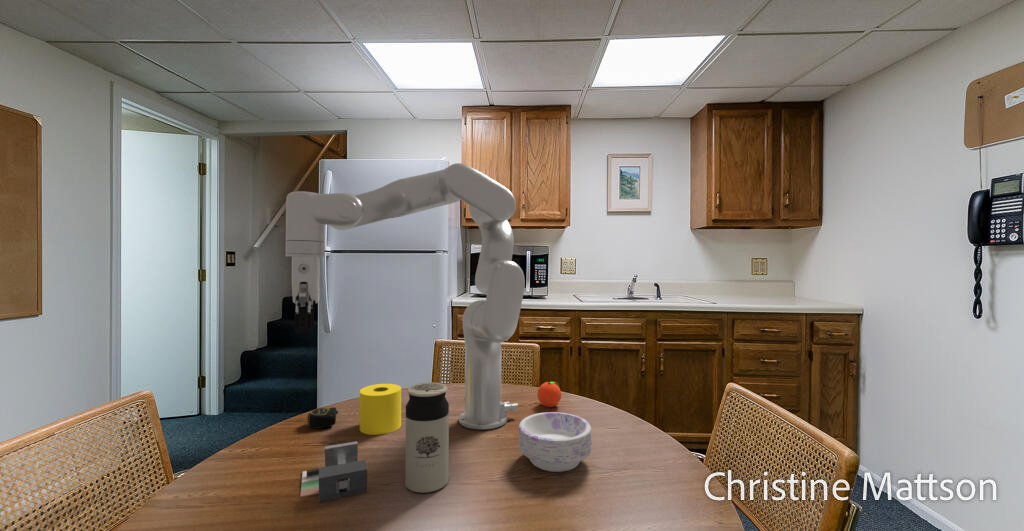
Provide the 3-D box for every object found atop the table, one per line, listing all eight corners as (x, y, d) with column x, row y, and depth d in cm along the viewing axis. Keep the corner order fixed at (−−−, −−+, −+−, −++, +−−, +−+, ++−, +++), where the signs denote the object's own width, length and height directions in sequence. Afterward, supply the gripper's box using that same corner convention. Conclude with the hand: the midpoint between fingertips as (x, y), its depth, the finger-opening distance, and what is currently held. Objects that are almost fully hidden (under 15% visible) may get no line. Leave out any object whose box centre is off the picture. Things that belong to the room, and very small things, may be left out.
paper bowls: (507, 471, 84) (507, 432, 83) (532, 441, 98) (532, 407, 98) (583, 487, 78) (583, 444, 78) (597, 452, 92) (597, 416, 92)
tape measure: (335, 429, 104) (335, 414, 104) (305, 432, 102) (305, 417, 102) (338, 419, 111) (338, 405, 111) (309, 422, 109) (309, 407, 109)
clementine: (550, 399, 127) (551, 376, 127) (568, 405, 122) (568, 381, 122) (532, 405, 122) (532, 381, 121) (550, 412, 116) (550, 386, 116)
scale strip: (321, 469, 84) (321, 468, 84) (321, 493, 75) (321, 492, 75) (302, 472, 83) (302, 471, 83) (300, 497, 74) (300, 496, 74)
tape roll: (406, 428, 105) (407, 391, 105) (366, 438, 99) (366, 398, 99) (393, 416, 113) (393, 381, 113) (355, 424, 107) (355, 387, 107)
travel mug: (412, 471, 83) (412, 381, 83) (451, 472, 83) (452, 382, 83) (400, 493, 75) (400, 394, 75) (444, 494, 75) (444, 394, 75)
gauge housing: (365, 481, 79) (365, 459, 79) (367, 492, 76) (367, 469, 76) (318, 490, 76) (319, 467, 76) (318, 502, 72) (318, 478, 72)
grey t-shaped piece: (357, 465, 85) (357, 441, 85) (361, 491, 76) (361, 463, 76) (306, 475, 81) (306, 449, 81) (304, 502, 72) (304, 473, 72)
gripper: (323, 249, 84) (322, 335, 84) (325, 251, 99) (324, 323, 100) (281, 248, 81) (280, 337, 81) (289, 250, 97) (288, 324, 97)
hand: (304, 329), depth 90 cm, fingers open, 9 cm apart
